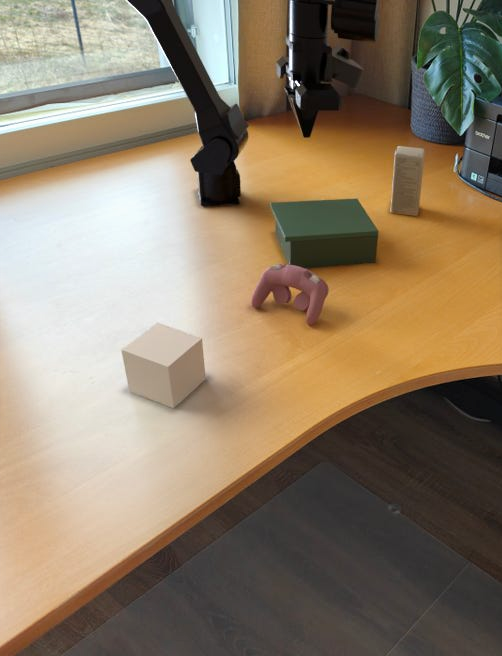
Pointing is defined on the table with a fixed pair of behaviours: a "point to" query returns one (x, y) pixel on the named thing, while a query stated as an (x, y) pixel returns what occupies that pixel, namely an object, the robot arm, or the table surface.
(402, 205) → the box
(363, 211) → the lid
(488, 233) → the table surface
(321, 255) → the toy chest
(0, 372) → the table surface
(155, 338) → the beige cube block
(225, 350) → the table surface
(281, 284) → the video game controller
